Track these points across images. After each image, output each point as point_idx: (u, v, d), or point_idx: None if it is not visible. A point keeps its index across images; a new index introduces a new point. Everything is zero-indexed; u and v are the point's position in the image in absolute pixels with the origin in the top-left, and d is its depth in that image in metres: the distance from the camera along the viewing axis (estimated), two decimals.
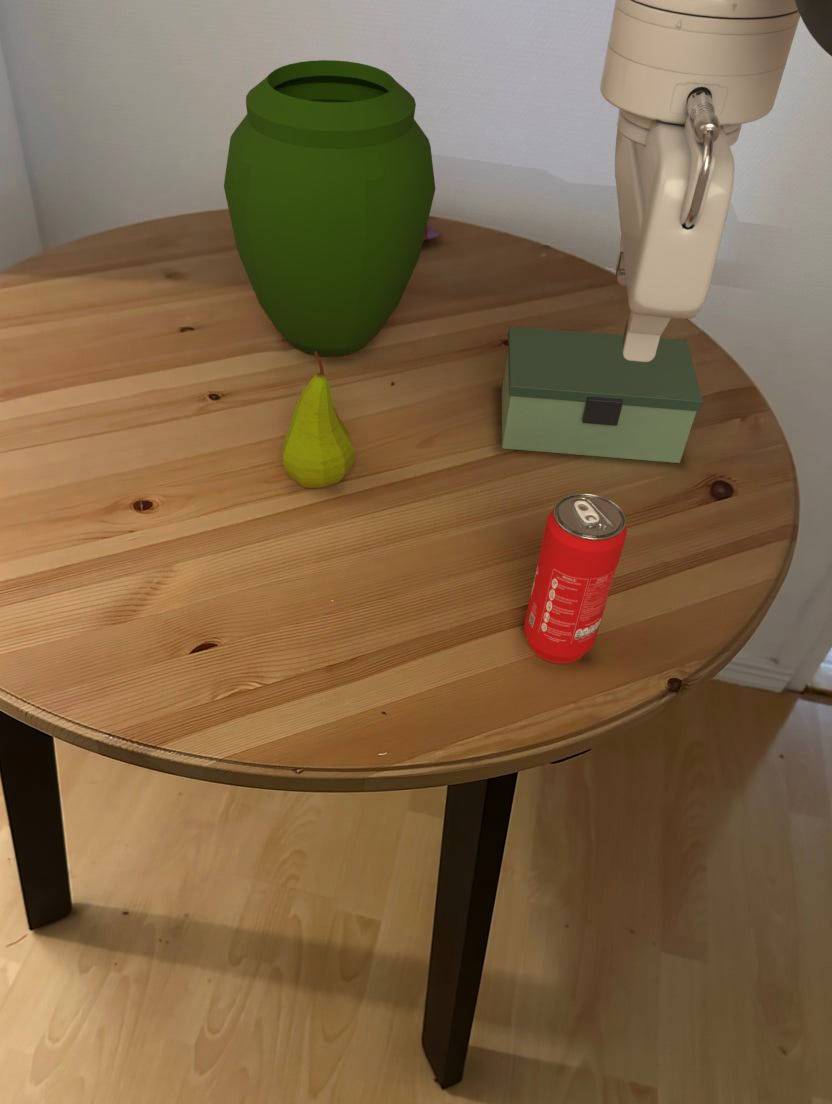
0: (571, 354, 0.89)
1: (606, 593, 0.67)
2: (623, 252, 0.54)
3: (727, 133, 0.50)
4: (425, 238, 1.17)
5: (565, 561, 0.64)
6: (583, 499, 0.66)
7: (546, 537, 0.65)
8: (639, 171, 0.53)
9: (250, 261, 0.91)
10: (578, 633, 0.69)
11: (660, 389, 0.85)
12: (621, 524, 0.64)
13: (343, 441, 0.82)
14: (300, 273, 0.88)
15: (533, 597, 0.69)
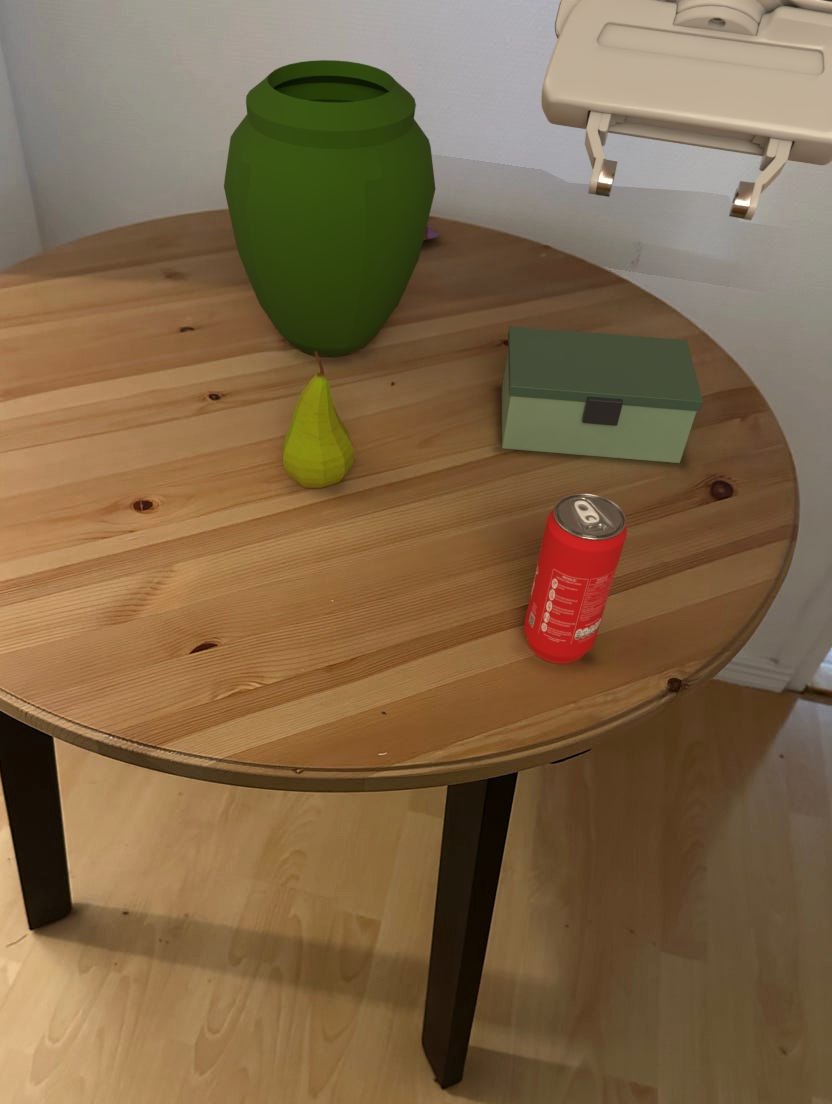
0: (571, 354, 0.89)
1: (606, 593, 0.67)
2: None
3: (684, 9, 0.63)
4: (425, 238, 1.17)
5: (565, 561, 0.64)
6: (583, 499, 0.66)
7: (546, 537, 0.65)
8: None
9: (250, 261, 0.91)
10: (578, 633, 0.69)
11: (660, 389, 0.85)
12: (621, 524, 0.64)
13: (343, 441, 0.82)
14: (300, 273, 0.88)
15: (533, 597, 0.69)
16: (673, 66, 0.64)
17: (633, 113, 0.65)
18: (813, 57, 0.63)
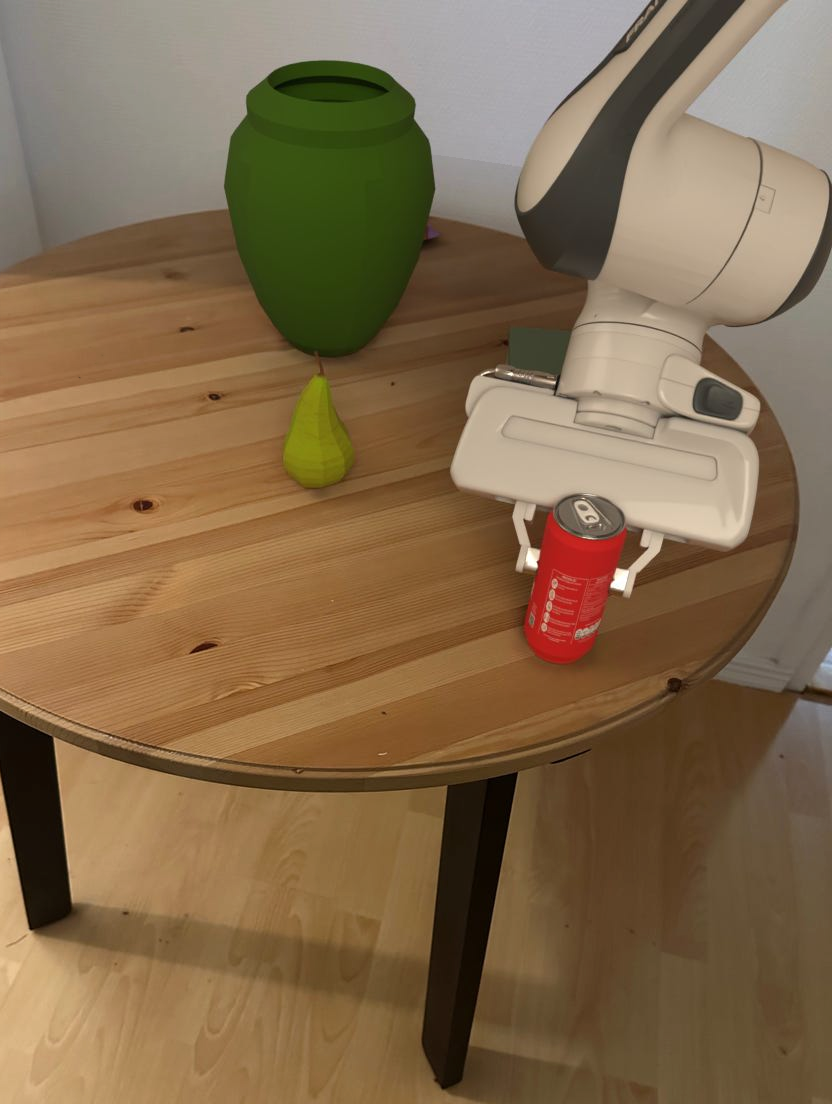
0: None
1: (606, 593, 0.67)
2: None
3: (583, 410, 0.66)
4: (426, 238, 1.17)
5: (565, 561, 0.64)
6: (583, 499, 0.66)
7: (546, 537, 0.65)
8: None
9: (250, 261, 0.91)
10: (578, 633, 0.69)
11: None
12: (621, 524, 0.64)
13: (343, 441, 0.82)
14: (300, 273, 0.88)
15: (533, 597, 0.69)
16: (573, 462, 0.66)
17: (535, 503, 0.67)
18: (707, 462, 0.65)
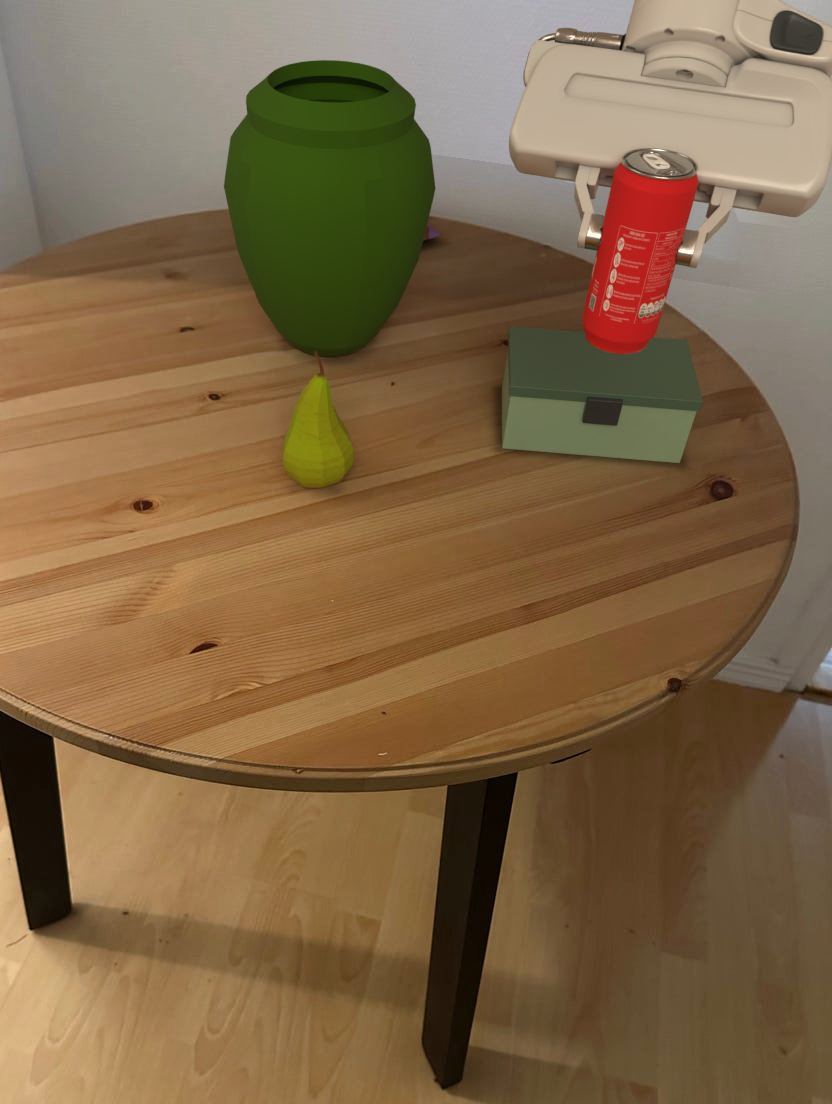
0: (571, 354, 0.89)
1: (673, 259, 0.64)
2: None
3: (651, 60, 0.63)
4: (426, 238, 1.17)
5: (634, 211, 0.61)
6: (651, 153, 0.62)
7: (613, 191, 0.62)
8: None
9: (250, 261, 0.91)
10: (642, 309, 0.65)
11: (660, 389, 0.85)
12: (693, 171, 0.61)
13: (343, 441, 0.82)
14: (300, 273, 0.88)
15: (595, 274, 0.66)
16: (640, 117, 0.63)
17: (600, 164, 0.64)
18: (782, 109, 0.62)
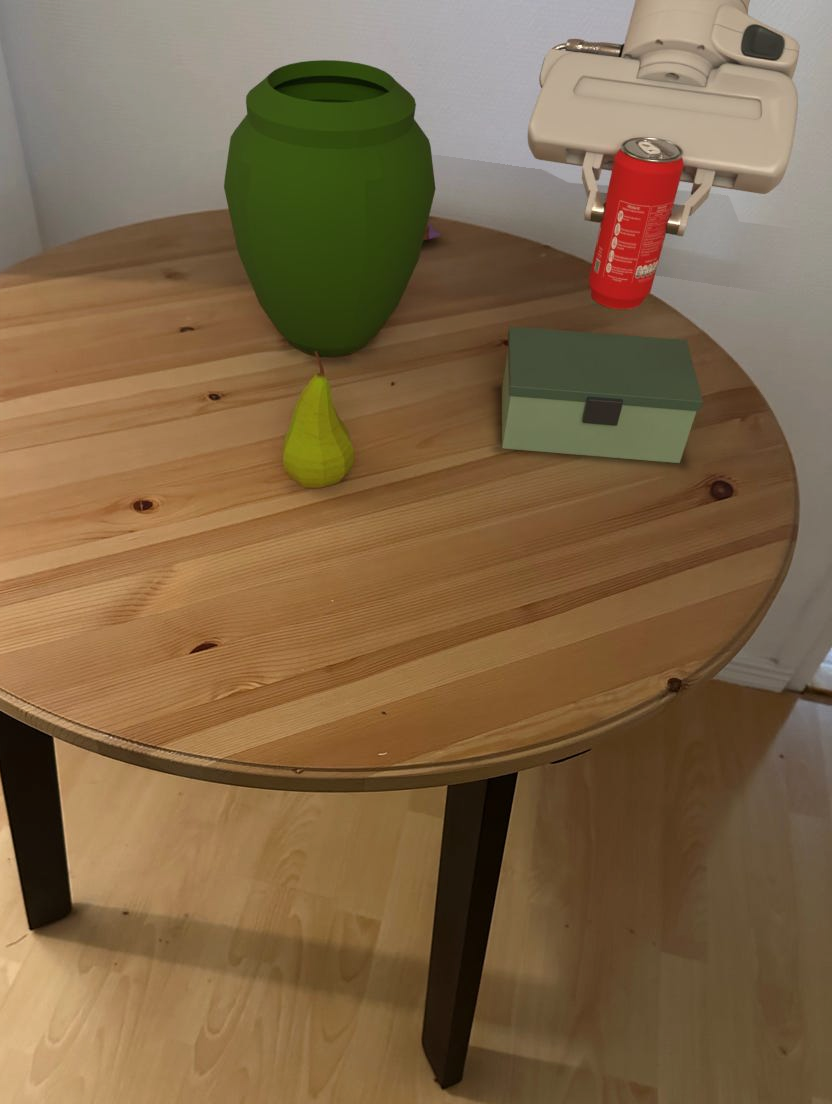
0: (571, 354, 0.89)
1: (664, 229, 0.78)
2: None
3: (645, 65, 0.76)
4: (426, 238, 1.17)
5: (631, 188, 0.75)
6: (645, 141, 0.76)
7: (614, 172, 0.76)
8: None
9: (250, 261, 0.91)
10: (638, 270, 0.79)
11: (660, 389, 0.85)
12: (679, 155, 0.75)
13: (343, 441, 0.82)
14: (300, 273, 0.88)
15: (599, 242, 0.80)
16: (636, 112, 0.77)
17: (603, 151, 0.78)
18: (752, 105, 0.75)
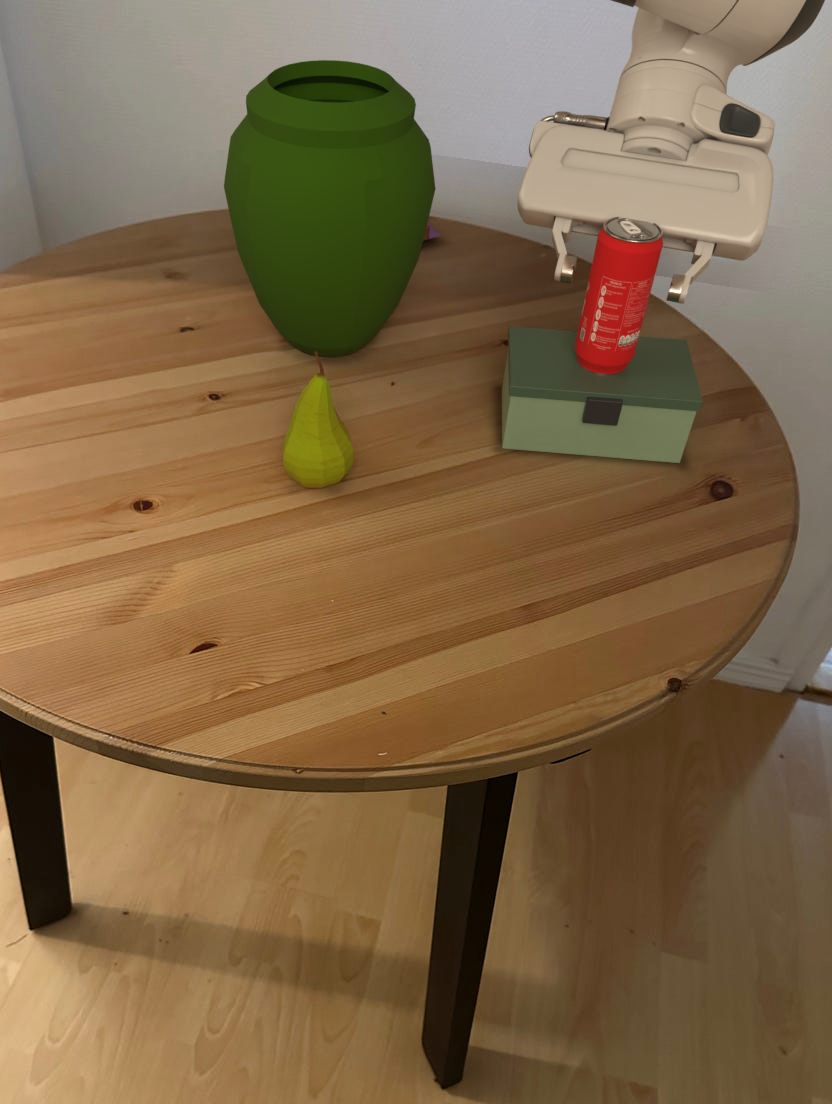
0: (571, 354, 0.89)
1: (645, 301, 0.82)
2: None
3: (629, 139, 0.80)
4: (426, 238, 1.17)
5: (613, 266, 0.79)
6: (627, 220, 0.81)
7: (597, 250, 0.80)
8: None
9: (250, 261, 0.91)
10: (621, 339, 0.84)
11: (660, 389, 0.85)
12: (658, 235, 0.79)
13: (343, 441, 0.82)
14: (300, 273, 0.88)
15: (584, 312, 0.84)
16: (620, 183, 0.81)
17: (589, 219, 0.82)
18: (730, 178, 0.79)
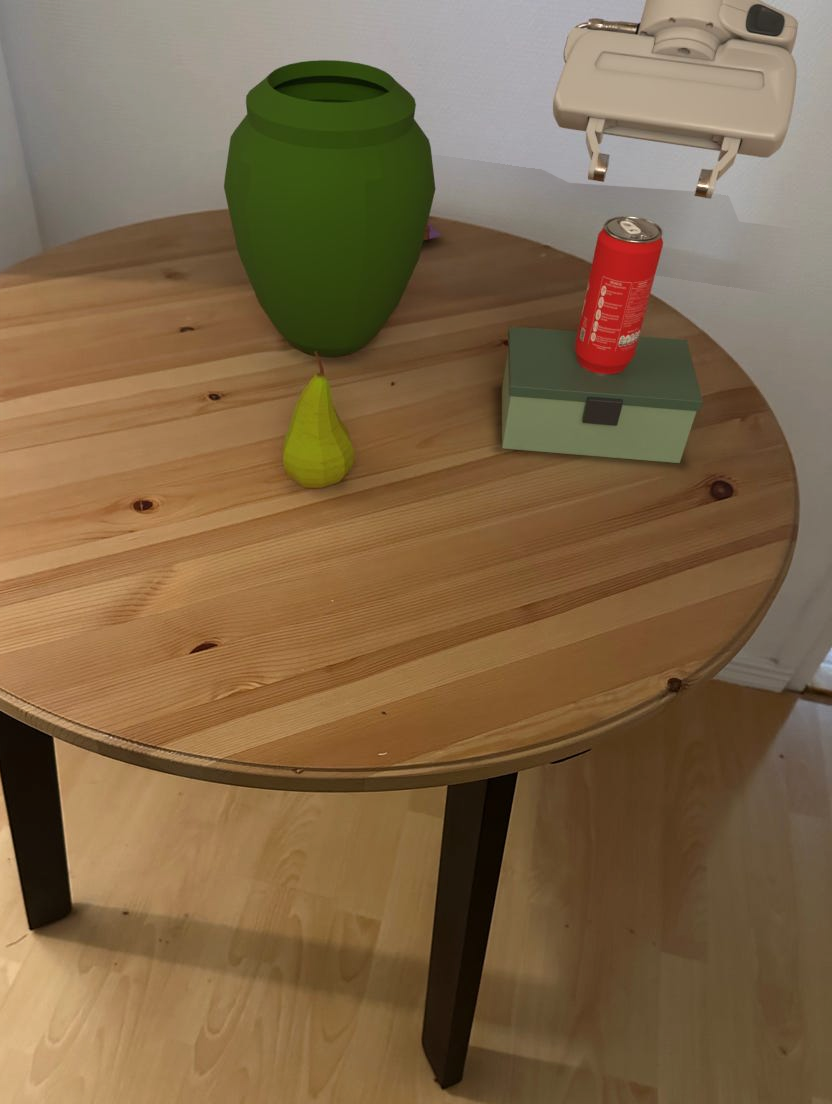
0: (571, 354, 0.89)
1: (645, 301, 0.82)
2: None
3: (659, 41, 0.85)
4: (427, 238, 1.17)
5: (613, 266, 0.79)
6: (627, 220, 0.81)
7: (597, 250, 0.80)
8: None
9: (250, 261, 0.91)
10: (621, 339, 0.84)
11: (660, 389, 0.85)
12: (658, 235, 0.79)
13: (343, 441, 0.82)
14: (300, 273, 0.88)
15: (584, 312, 0.84)
16: (651, 84, 0.85)
17: (621, 118, 0.86)
18: (756, 77, 0.84)
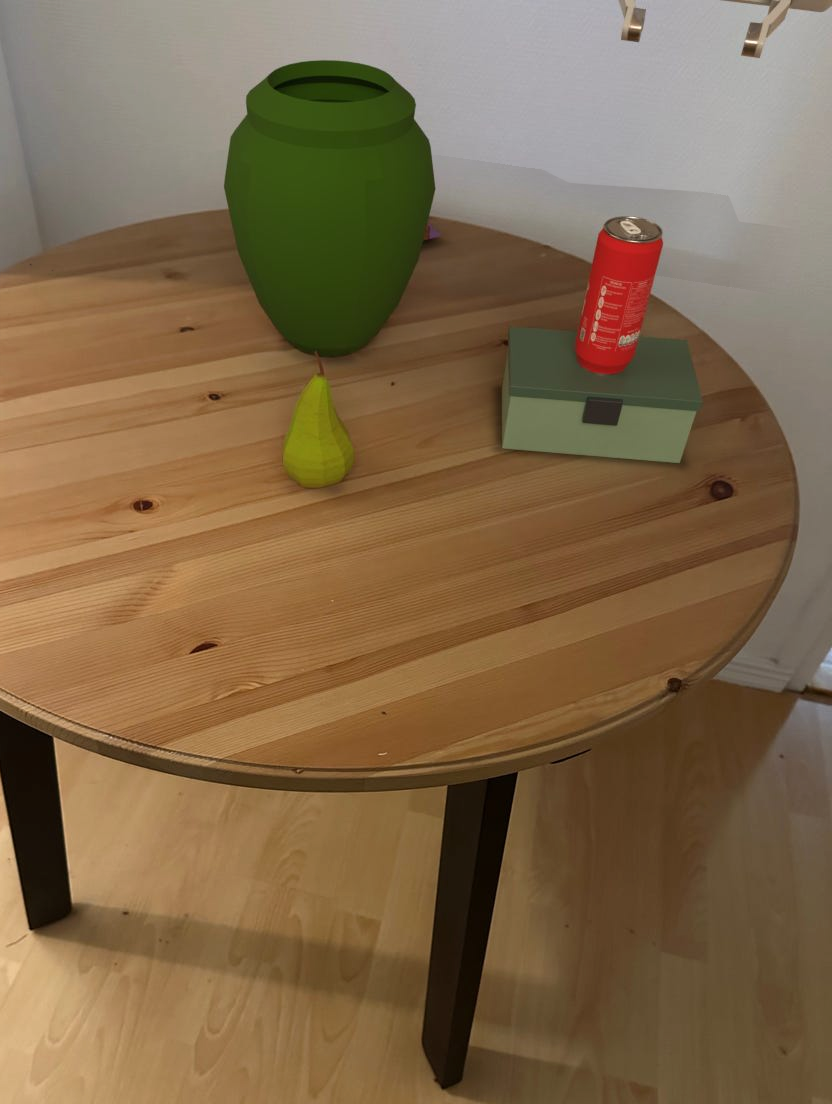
0: (571, 354, 0.89)
1: (645, 301, 0.82)
2: None
3: None
4: (427, 238, 1.17)
5: (613, 266, 0.79)
6: (627, 220, 0.81)
7: (597, 250, 0.80)
8: None
9: (250, 261, 0.91)
10: (621, 339, 0.84)
11: (660, 389, 0.85)
12: (658, 235, 0.79)
13: (343, 441, 0.82)
14: (300, 273, 0.88)
15: (584, 312, 0.84)
16: None
17: None
18: None
